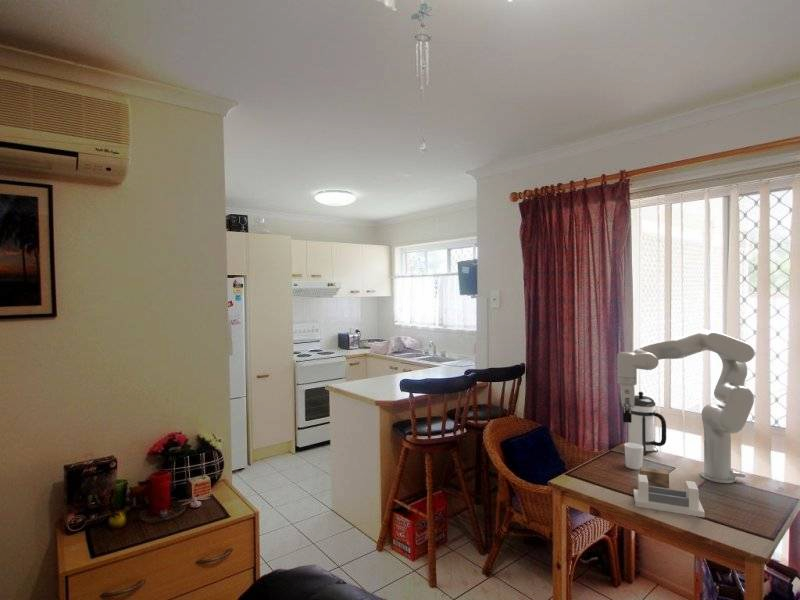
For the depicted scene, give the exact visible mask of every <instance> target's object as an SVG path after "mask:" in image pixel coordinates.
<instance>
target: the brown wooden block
mask: <svg viewBox="0 0 800 600" xmlns="http://www.w3.org/2000/svg"><path fill="white" fill-rule="evenodd" d="M639 474H640V475H647V479H648V486H654V487H661V488H668V489H670V473H669V471H668V469H667V470H666V469H661V468H660V469H659V468H651V467H645V466H644V467H643V466H642V467H640V469H639Z"/></svg>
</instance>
